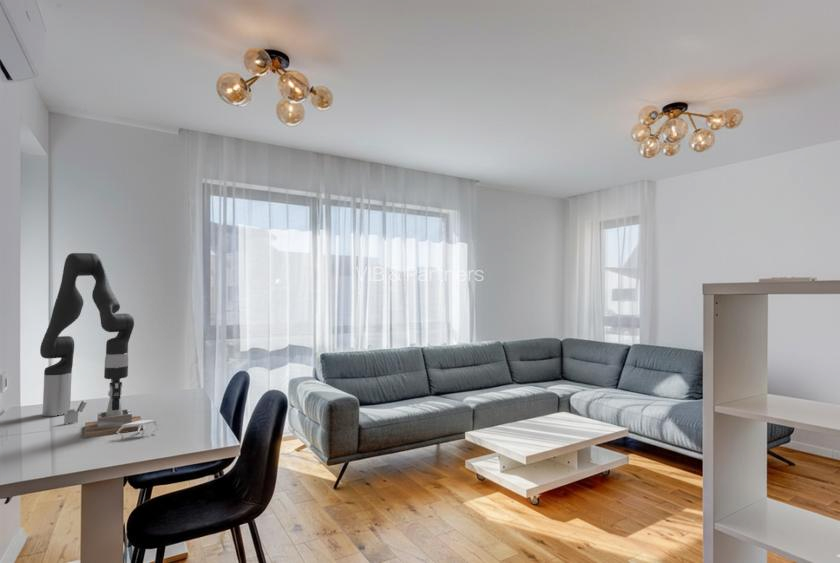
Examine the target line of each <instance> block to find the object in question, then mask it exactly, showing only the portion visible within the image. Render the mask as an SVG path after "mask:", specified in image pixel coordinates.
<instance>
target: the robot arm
mask: <svg viewBox="0 0 840 563" xmlns="http://www.w3.org/2000/svg"><path fill="white" fill-rule="evenodd" d="M82 276H83V277H84V276H87V277H88V276H92V277H93V278H94V280H95V284H94V286H93V290H92V294H91V295H92V301H93V302H94V304H95V306H96V308H97V310H98V312H99V317H100V318H99V319H100V326H101V328H102V330H104V331H105V332H107V333H117V335H116V336H114V337H111V338H109V339H107V341H106V343H105V357H104V368H103V369H104V372H103V373H104V374H103V375H104V376H103V378H104V379H105V380H110V382H109V387H108V388H109V391H110V395H112V410H113V411H114V410H119V400H121V396H122V395H120V394H121V391H122V387H123V382H122V381H121V379H125V378H127V377H128V374H129V341H130V339H131V335H132V333H133V330H134V327H135V320H134V317H133V316H132V315H131V314H130V313H117V312H119V310H120V309H121V305H120V303H119V301H118V299H117V297H116V295H115V294H114V292H113V291H112V289H111V288H112V287H111V286H110V283H109V279H108V276H107V273H106V270H105V268H104V265H103V262H102V260H101V257H99V255H98V254H96V253H90V252H89V253H87V252H73V253H72V252H71V253H69V254H68V255H67V256H66V258H65V260H64V266H63V270H62V276H61V281H60V286H59V290H58V293H57V296H56V299H55V302H54V305H53V309H52V313H51V317H50V321H49V323H48V326H47V329H46V332H45V334H44V335H43V338H42V340H41V344H40V349H39V350H40V352H39V353H40V356H41V357H42V359H60V360H59V361H58V362H56V363H55V364H51V365H49V366H47V367H45V368H44V373H43V375H44V376H43V393H42V411H41V412H42V413H41V414H42V416H43V417H56V416H57V415H59V416H62V415H63V414H64V413H67V411H68V410H71V401H72V400H71V398H72V377H73V376H72V375H73V365H74V354H75V353H74V352H75V339H74V338H73V337H72V336H69V335H68V336H67V335H64V336H62V335H61V336H60V334H62V332H63V331H64V330H65V329H67V328H68V327H70V325H72V324H73V323H74V322H76V320H78V318H79V317H81V316H80V315H81V312H82V310H83V307H84V299H83V296H82V294H81V293H80V291H79V290H78V287H77V286H76V285H77V284H76V282H77V280H78V279H77V278H78V277H82ZM114 395H118V396H114ZM42 416H41V417H42ZM63 416H64V415H63ZM57 417H58V416H57Z"/></svg>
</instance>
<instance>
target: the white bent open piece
mask: <svg viewBox="0 0 840 563" xmlns="http://www.w3.org/2000/svg"><path fill="white" fill-rule="evenodd" d="M149 424H154V425H155V428H156V429H155V430H153V431H152V434H154V435H156V431H158V430H159V429H160V428H159V426H158V423H157V420H156V419H154V420H153V419H150V420H149V419H148V420H147V419H146V420H144V419H141V420H139V421H135V422H131V423H128V424H124V425H122V427H121V428H120V429H119V430H118V431H117V432H116V434H118V435H120V436H121V439H123V438H124V437H125V435H124V434H123V433H119V431H120V430H122V429H123V428H124V427H128V426H138V430H137V431H136V432H137V434H141V437H142V438H143V436H144V437H145V435H144V434H145V431H146V425H149ZM141 426H142V428H143V430H140V429H141ZM140 431H141V432H140Z"/></svg>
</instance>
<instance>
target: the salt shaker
mask: <svg viewBox="0 0 840 563" xmlns="http://www.w3.org/2000/svg"><path fill="white" fill-rule="evenodd" d="M122 393H123V390H121V394H120V396H122V395H123V394H122ZM107 394H108V397H109V401H108V405H107V409H106V411H105V412H106V417H109V416H117V415H123V412H122V410H123V407H122V401H121V399H120V400H119V410H114V411H113V410H112V395H110V390H108V392H107ZM114 396H118V395H114Z"/></svg>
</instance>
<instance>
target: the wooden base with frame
mask: <svg viewBox="0 0 840 563" xmlns="http://www.w3.org/2000/svg"><path fill="white" fill-rule="evenodd" d="M106 412H107V411H102V412H101V411H100V412H97V420H95V421H88V422H85V423H84V439H87V438H94V437H95V438H96V437H100V436H106V435H109V436H110V435H113V434H117V433H116V432H117V431H118V430H119V429H120V428H121V427H122V425H124V424H128V423H131V422H135V421H139V420H142V418H141V416H140V415H137V416H135V415H134V416H133V413H132V412H131V409H130V408H126V409H122V412H123V415H117V416H109V417H106ZM142 429H143V428H142V426H141V429H140V431H142ZM135 430H137V431H138V426H128V427H124V428H123V429H122V430H120V431H119V433H120V434H123V433H130V432H136V431H135ZM129 431H130V432H129Z"/></svg>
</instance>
